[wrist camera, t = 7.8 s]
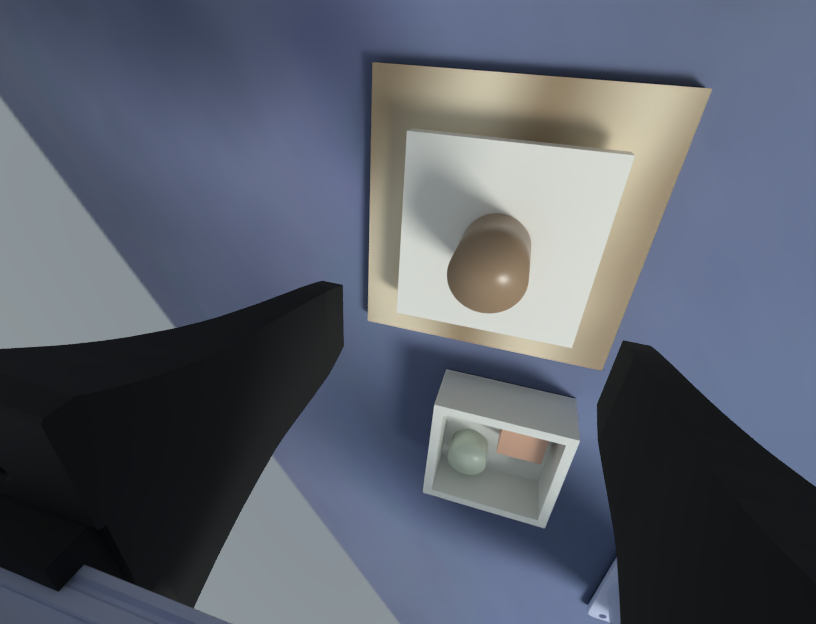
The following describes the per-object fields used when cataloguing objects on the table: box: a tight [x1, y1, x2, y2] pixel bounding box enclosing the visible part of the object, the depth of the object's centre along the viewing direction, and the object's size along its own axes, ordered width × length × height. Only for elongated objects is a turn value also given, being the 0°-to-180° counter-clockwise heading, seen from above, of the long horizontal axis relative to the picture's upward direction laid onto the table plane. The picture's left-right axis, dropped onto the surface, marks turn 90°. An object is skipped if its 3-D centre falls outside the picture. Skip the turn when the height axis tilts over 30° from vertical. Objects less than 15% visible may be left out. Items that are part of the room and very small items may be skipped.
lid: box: [397, 128, 635, 348], centre depth 16 cm, size 8×8×5 cm
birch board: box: [368, 62, 712, 371], centre depth 18 cm, size 12×12×1 cm
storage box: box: [423, 369, 580, 529], centre depth 23 cm, size 7×7×3 cm
